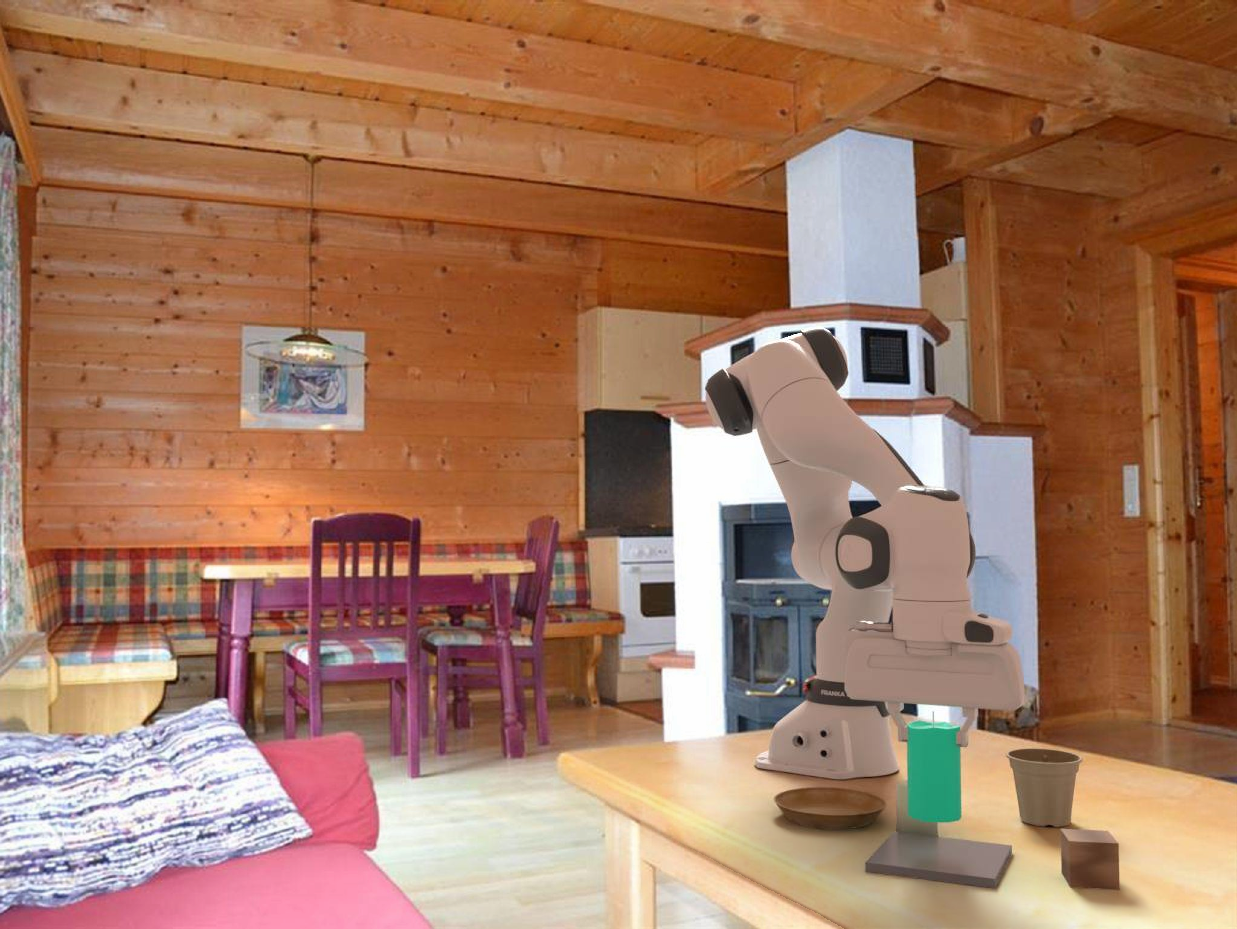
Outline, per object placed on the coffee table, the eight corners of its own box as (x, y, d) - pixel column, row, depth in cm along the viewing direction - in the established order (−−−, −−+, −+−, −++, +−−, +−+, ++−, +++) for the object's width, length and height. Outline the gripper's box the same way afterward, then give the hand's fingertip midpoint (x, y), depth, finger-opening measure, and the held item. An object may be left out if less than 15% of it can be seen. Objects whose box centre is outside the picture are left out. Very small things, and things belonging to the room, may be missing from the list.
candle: (963, 824, 129) (962, 716, 129) (908, 821, 130) (907, 714, 130) (959, 810, 134) (957, 708, 135) (906, 808, 136) (905, 706, 136)
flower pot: (1076, 835, 143) (1074, 765, 143) (999, 825, 148) (998, 757, 148) (1090, 818, 151) (1088, 752, 151) (1016, 809, 156) (1015, 745, 156)
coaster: (865, 871, 129) (865, 862, 129) (893, 839, 141) (893, 831, 141) (994, 888, 122) (994, 878, 122) (1012, 853, 135) (1011, 845, 135)
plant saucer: (907, 818, 152) (907, 798, 152) (847, 841, 141) (846, 820, 142) (814, 800, 162) (814, 781, 162) (751, 820, 152) (751, 800, 152)
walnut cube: (1070, 888, 123) (1069, 841, 123) (1061, 873, 128) (1060, 828, 128) (1119, 890, 122) (1118, 843, 122) (1109, 876, 127) (1107, 830, 127)
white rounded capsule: (892, 835, 143) (892, 787, 143) (901, 826, 148) (900, 779, 148) (933, 840, 141) (932, 791, 141) (941, 830, 145) (940, 783, 146)
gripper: (836, 622, 135) (837, 740, 134) (1018, 630, 126) (1020, 756, 125) (851, 618, 141) (852, 731, 140) (1025, 625, 131) (1027, 746, 131)
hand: (933, 743), depth 133 cm, fingers closed on candle, 5 cm apart
